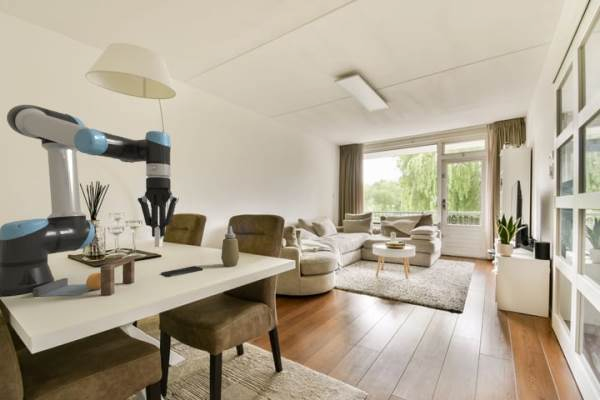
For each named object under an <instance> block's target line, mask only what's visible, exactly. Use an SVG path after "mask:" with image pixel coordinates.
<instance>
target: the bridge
mask: <svg viewBox="0 0 600 400" xmlns="http://www.w3.org/2000/svg"><path fill="white" fill-rule="evenodd" d="M120 266H122V285H130V284H131V285H132V284H134V283H135V256H125V257H122V258H120V259H117V260H114V261H111V262H108V263H105V264H103V265H100V273H101V288H100V296H104V297H105V296H111V295H113V294H115V269H116V268H119V267H120Z"/></svg>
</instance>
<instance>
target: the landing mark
mask: <svg viewBox="0 0 600 400" xmlns="http://www.w3.org/2000/svg"><path fill="white" fill-rule="evenodd" d="M90 291H93V289H90V288H89V287H88V286H87V284H86V283H83V284H81V283H80V284H68V285H67V286H64V287H62V288H59V289H57V290H54V291H52V292H49V293H46V294H44V295H41V296H39V297H41V298H42V297H63V296H67V297H69V296H82V295H84V294H87V293H89V292H90Z"/></svg>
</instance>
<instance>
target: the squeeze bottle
mask: <svg viewBox="0 0 600 400" xmlns="http://www.w3.org/2000/svg"><path fill="white" fill-rule="evenodd" d="M233 231H234V230H233V227H232V225H229V226H228V228H227V233H225V234H224V239H223V240H222V244H221V245H222V247H221V255H220V256H221V258H220V259H221V262H222V264H223V266H224V267H230V268H231V267H234V266H235V267H236V266H237V265H238V262H239V259H240V252H239V251H240V250H239V243H238V240H239V239H237V238H236V233H234V232H233Z"/></svg>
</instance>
